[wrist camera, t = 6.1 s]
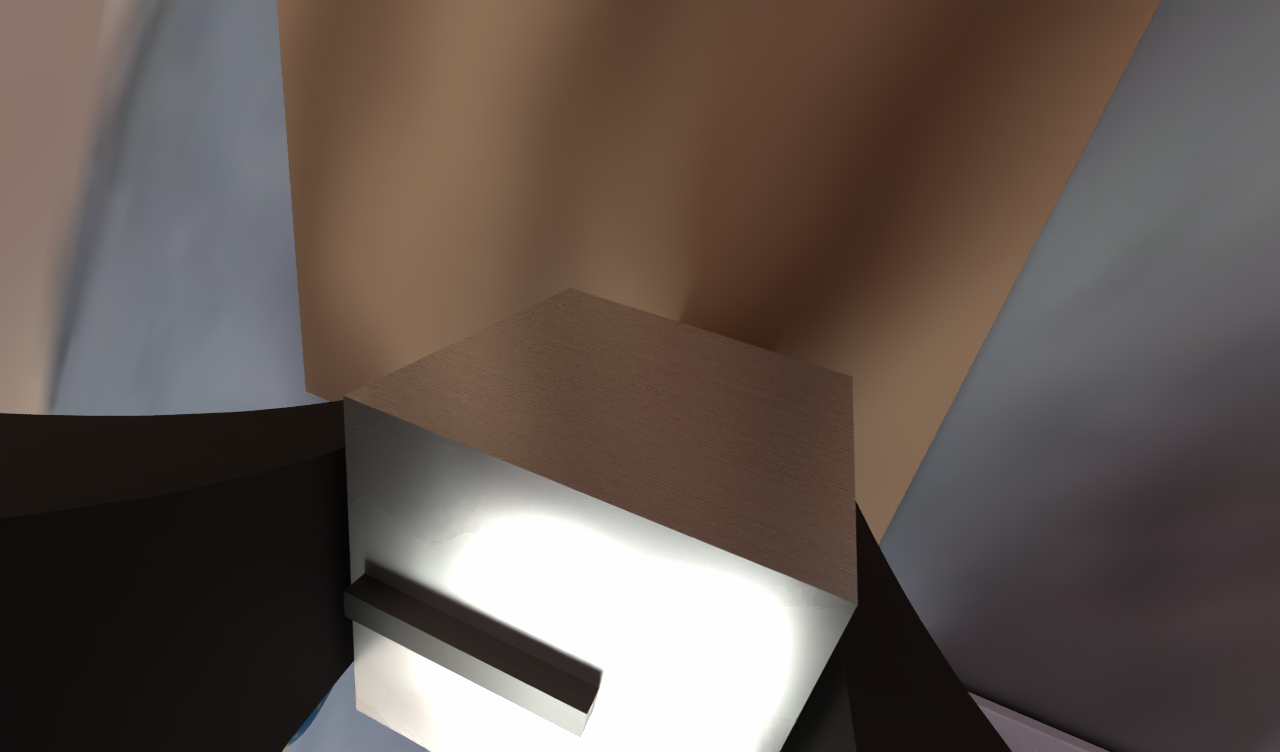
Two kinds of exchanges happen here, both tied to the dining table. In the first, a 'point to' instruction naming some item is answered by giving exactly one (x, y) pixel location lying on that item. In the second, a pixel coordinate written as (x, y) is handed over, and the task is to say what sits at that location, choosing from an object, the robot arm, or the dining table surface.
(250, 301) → the dining table surface
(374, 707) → the beige cube
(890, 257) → the board
